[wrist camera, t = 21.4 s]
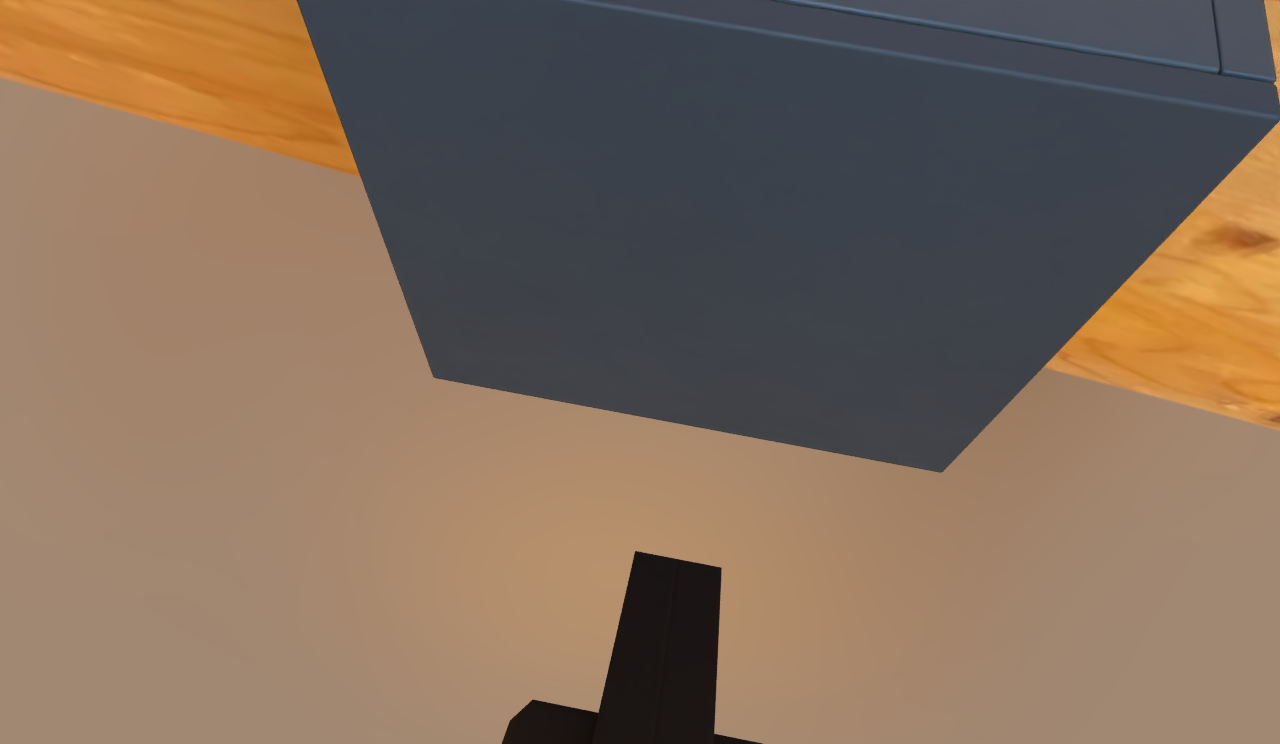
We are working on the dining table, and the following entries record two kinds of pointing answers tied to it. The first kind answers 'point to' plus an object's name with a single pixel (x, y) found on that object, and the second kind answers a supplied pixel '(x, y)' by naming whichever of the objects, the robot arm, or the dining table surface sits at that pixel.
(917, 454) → the lid
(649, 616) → the robot arm
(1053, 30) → the box
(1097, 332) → the dining table surface
